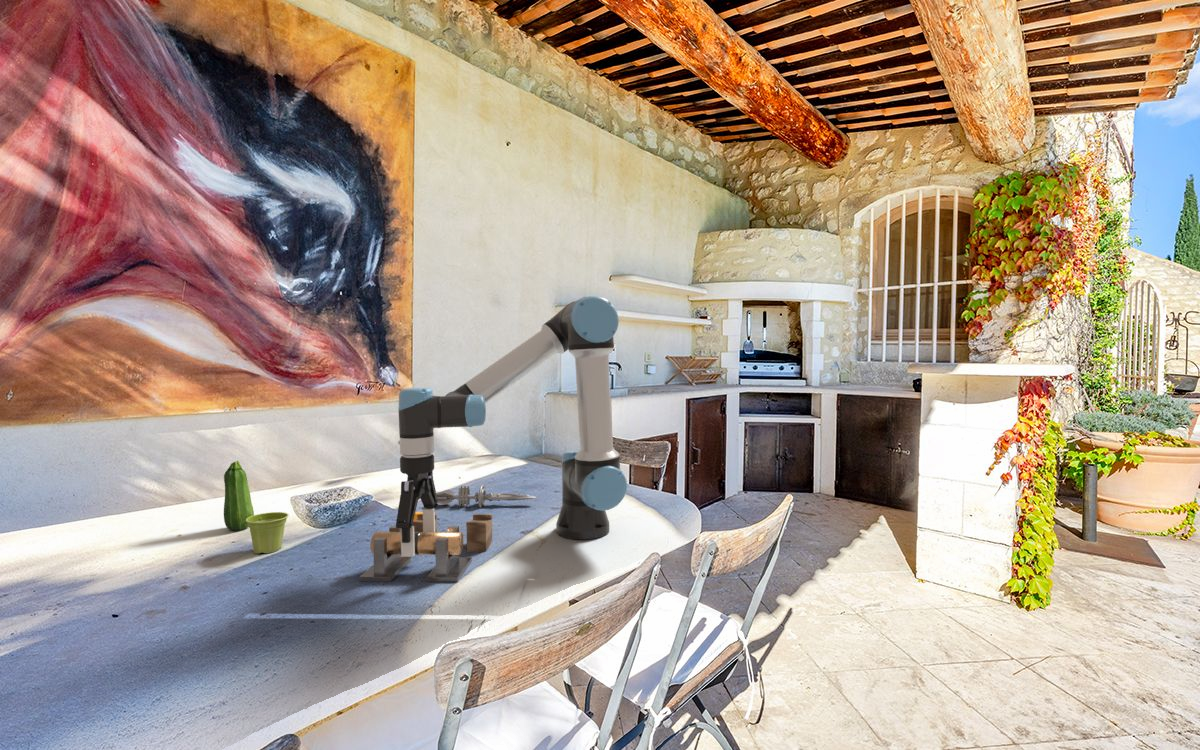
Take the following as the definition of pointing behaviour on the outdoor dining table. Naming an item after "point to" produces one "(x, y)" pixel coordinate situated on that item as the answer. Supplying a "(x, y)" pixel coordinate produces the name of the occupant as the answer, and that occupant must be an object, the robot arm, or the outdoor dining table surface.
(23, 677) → the outdoor dining table surface
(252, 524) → the plant pot
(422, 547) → the tube
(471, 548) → the walnut rest
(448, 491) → the spaceship
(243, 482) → the vegetable
